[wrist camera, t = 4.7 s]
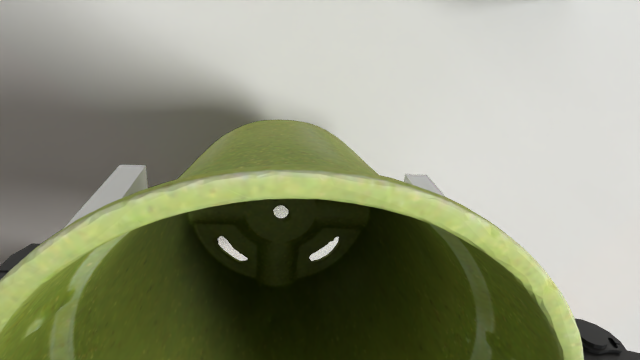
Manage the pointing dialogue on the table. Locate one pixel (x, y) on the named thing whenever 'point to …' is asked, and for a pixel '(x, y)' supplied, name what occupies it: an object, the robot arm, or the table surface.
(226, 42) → the table surface
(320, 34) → the table surface
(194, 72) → the table surface
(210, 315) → the plant pot
